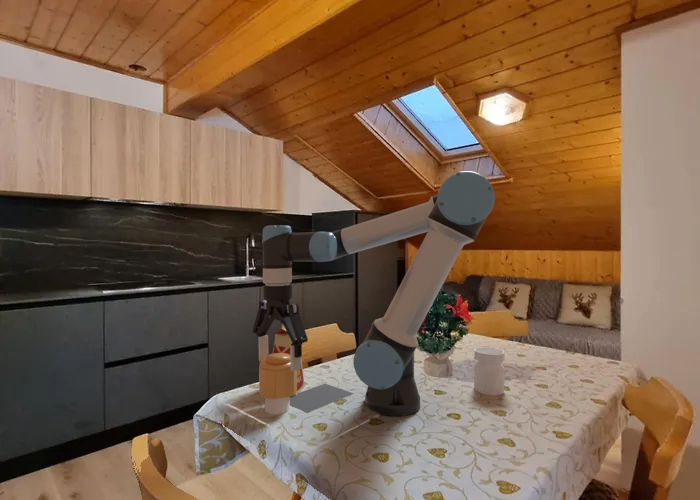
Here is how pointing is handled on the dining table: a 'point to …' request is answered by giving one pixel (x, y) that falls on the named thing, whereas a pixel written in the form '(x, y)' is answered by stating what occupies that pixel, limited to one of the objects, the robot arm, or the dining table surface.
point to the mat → (317, 397)
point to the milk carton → (283, 346)
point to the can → (277, 405)
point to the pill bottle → (489, 371)
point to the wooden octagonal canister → (277, 377)
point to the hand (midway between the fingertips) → (279, 364)
